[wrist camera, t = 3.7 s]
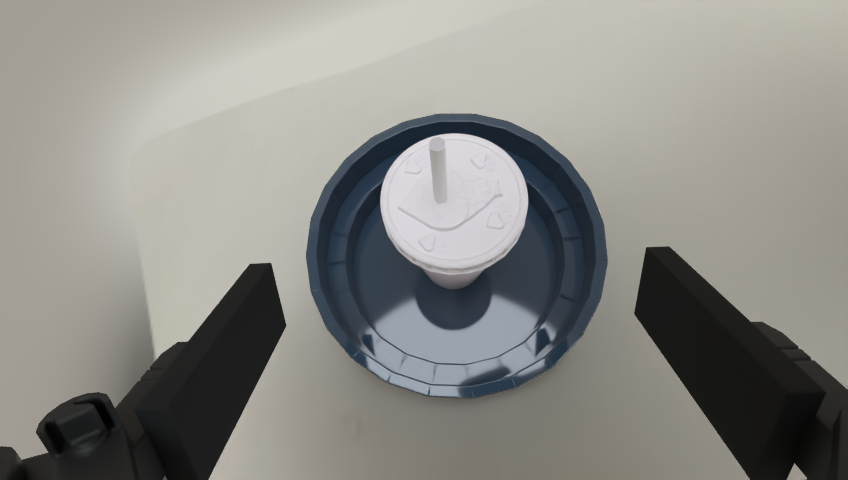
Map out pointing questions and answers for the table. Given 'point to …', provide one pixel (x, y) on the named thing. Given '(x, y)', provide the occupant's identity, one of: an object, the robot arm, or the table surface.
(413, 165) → the smoothie
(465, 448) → the table surface
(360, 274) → the bowl
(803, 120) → the table surface
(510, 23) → the table surface
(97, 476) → the robot arm
